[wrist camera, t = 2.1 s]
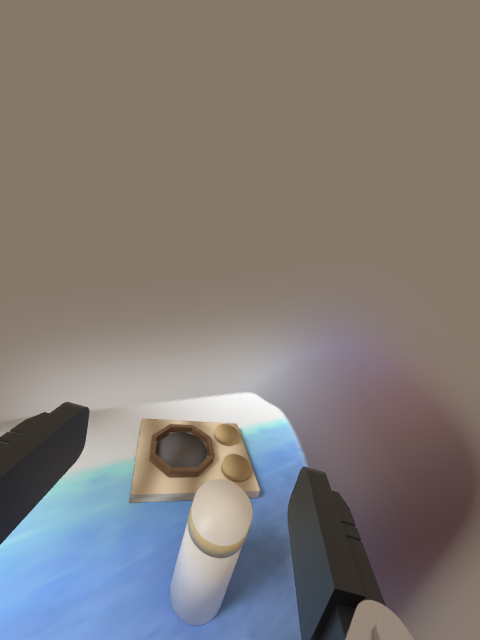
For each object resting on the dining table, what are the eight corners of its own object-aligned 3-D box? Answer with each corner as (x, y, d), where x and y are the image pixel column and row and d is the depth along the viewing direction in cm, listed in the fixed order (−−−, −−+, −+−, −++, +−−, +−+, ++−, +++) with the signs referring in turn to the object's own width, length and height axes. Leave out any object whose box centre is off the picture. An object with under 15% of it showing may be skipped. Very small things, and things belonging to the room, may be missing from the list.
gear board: (129, 502, 30) (132, 487, 29) (140, 425, 42) (143, 413, 41) (257, 497, 35) (262, 484, 34) (235, 429, 47) (238, 419, 46)
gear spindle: (168, 632, 21) (195, 542, 18) (168, 559, 26) (190, 479, 23) (229, 620, 22) (261, 535, 20) (218, 553, 27) (244, 478, 25)
